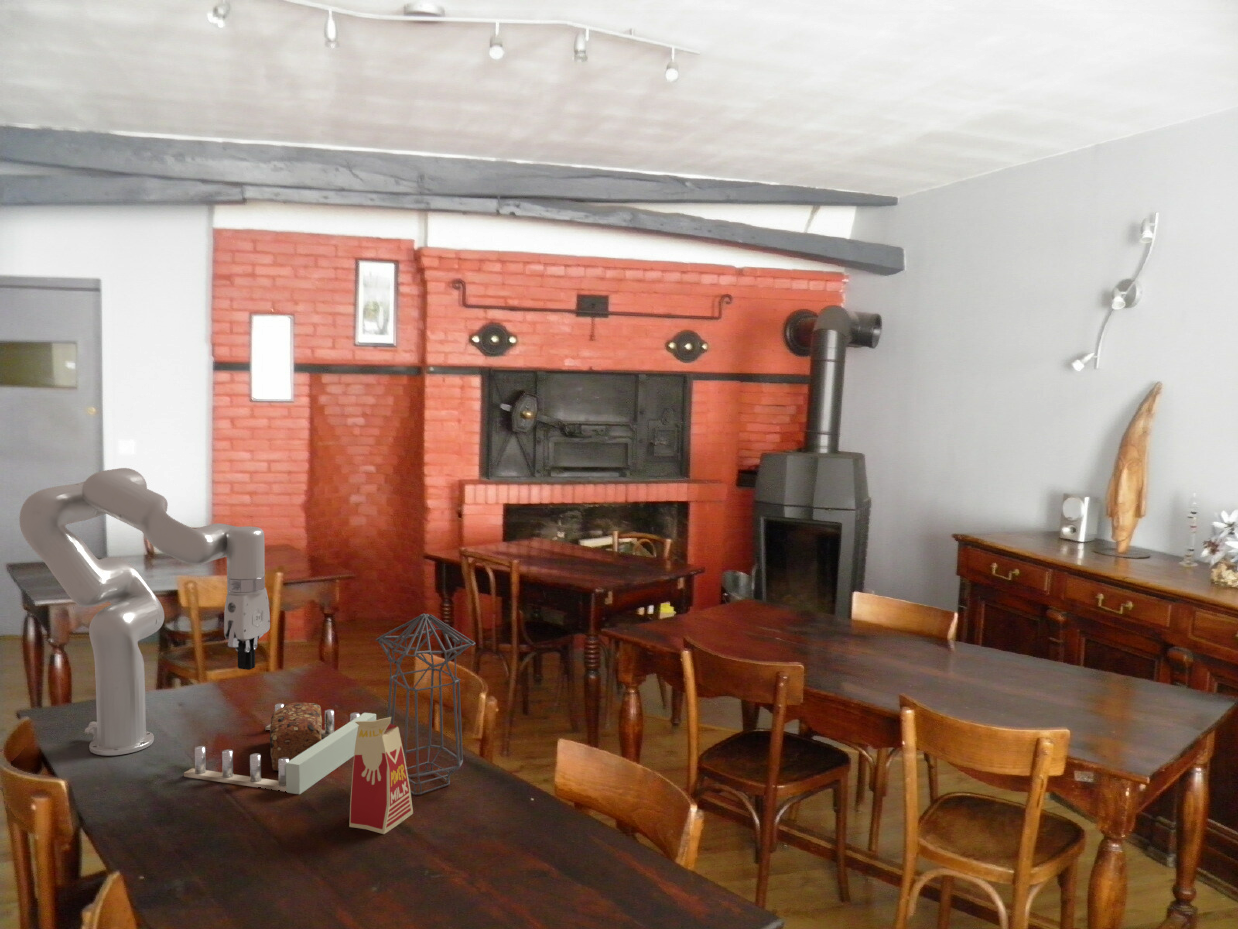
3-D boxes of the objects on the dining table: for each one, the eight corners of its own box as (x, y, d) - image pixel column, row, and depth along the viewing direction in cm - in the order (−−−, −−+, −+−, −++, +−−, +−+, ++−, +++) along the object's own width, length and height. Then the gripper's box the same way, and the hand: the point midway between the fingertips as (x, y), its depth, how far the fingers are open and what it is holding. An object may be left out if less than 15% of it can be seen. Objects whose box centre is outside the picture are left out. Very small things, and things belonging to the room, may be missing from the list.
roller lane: (182, 777, 194) (182, 748, 194) (272, 726, 223) (272, 701, 222) (299, 794, 187) (299, 765, 187) (376, 739, 216) (376, 714, 216)
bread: (322, 769, 200) (321, 723, 199) (268, 774, 197) (267, 727, 196) (322, 737, 218) (322, 694, 217) (272, 741, 214) (272, 698, 214)
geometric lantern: (372, 780, 195) (371, 611, 192) (441, 762, 204) (442, 601, 201) (406, 807, 182) (406, 628, 179) (478, 787, 192) (479, 617, 189)
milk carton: (413, 813, 180) (413, 710, 178) (385, 835, 172) (385, 727, 170) (371, 805, 183) (371, 704, 181) (342, 826, 174) (342, 720, 173)
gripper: (238, 593, 196) (239, 680, 198) (282, 579, 210) (282, 660, 212) (207, 590, 198) (208, 676, 200) (252, 576, 212) (253, 657, 214)
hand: (246, 668), depth 206 cm, fingers closed
